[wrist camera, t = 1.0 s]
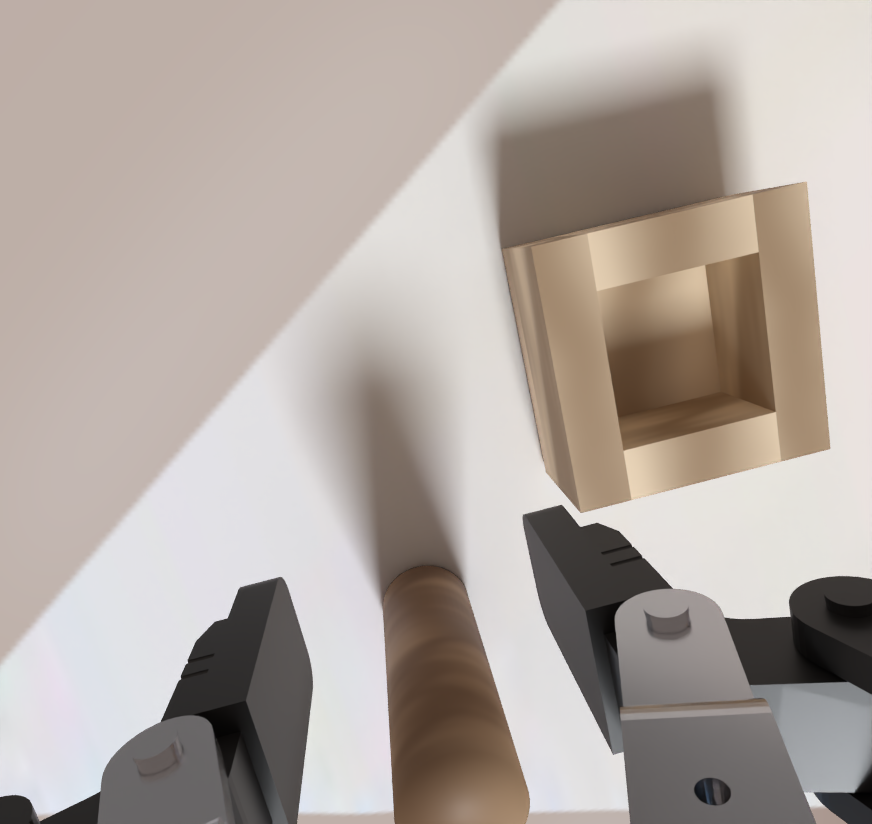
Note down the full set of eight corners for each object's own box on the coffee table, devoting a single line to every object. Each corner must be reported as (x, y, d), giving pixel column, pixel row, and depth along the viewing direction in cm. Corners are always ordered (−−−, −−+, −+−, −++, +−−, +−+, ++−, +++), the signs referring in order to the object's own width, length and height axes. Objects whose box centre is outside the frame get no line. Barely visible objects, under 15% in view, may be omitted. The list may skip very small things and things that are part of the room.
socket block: (731, 195, 28) (806, 181, 24) (756, 418, 31) (830, 448, 26) (501, 248, 28) (531, 247, 23) (546, 472, 30) (580, 513, 25)
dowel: (458, 556, 31) (515, 735, 19) (476, 632, 32) (541, 846, 20) (373, 578, 31) (379, 772, 19) (394, 653, 32) (411, 882, 20)
